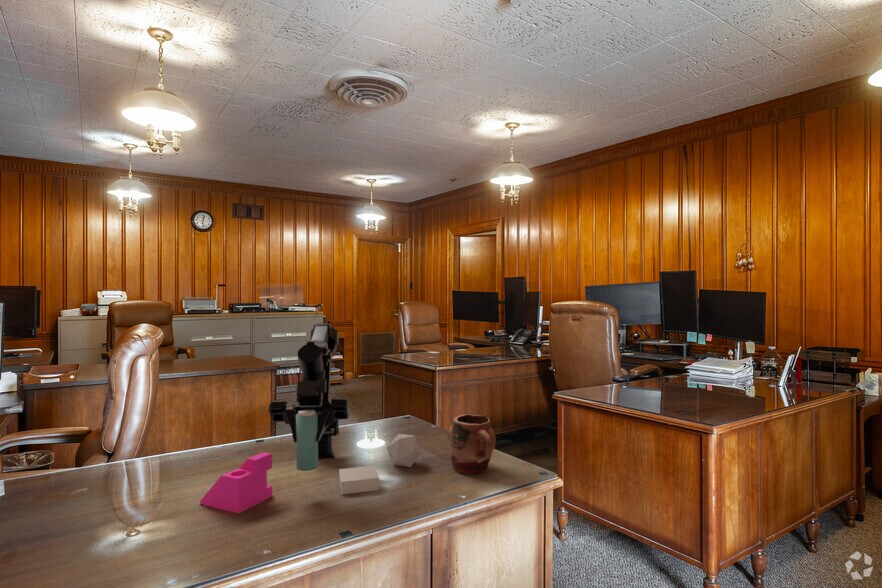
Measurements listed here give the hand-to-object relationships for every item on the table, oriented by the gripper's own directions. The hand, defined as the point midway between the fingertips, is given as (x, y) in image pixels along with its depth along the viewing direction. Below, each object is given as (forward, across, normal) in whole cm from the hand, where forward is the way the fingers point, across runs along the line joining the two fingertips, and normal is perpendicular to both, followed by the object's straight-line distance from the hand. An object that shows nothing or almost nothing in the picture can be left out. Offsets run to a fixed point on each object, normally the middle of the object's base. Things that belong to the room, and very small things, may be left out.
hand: (306, 441), depth 119 cm
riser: (+5, +12, +14) cm, 19 cm away
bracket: (+9, -16, +10) cm, 21 cm away
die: (-4, +24, +24) cm, 34 cm away
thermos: (+4, 0, +6) cm, 7 cm away
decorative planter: (+1, +42, +19) cm, 46 cm away
